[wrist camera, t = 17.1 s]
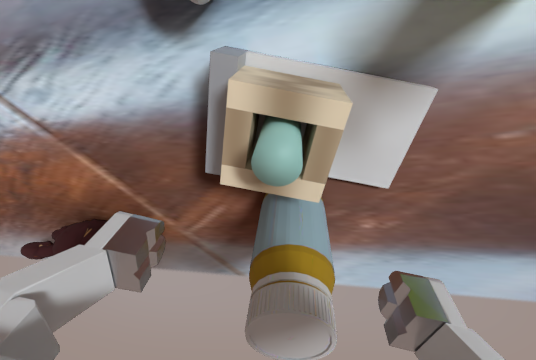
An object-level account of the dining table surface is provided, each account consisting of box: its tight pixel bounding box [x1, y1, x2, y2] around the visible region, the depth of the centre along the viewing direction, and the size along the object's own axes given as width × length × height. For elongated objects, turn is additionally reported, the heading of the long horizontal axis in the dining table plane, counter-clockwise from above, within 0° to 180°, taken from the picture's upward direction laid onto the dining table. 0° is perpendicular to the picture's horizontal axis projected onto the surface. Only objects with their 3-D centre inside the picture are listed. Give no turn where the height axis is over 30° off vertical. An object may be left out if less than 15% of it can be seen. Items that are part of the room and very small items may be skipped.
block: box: [220, 65, 353, 203], centre depth 21 cm, size 8×8×6 cm
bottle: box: [245, 193, 337, 360], centre depth 24 cm, size 7×7×15 cm
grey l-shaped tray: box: [205, 46, 438, 188], centre depth 23 cm, size 18×10×4 cm, turn 81°
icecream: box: [21, 219, 107, 259], centre depth 32 cm, size 7×7×15 cm
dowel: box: [251, 115, 303, 187], centre depth 20 cm, size 3×3×9 cm
